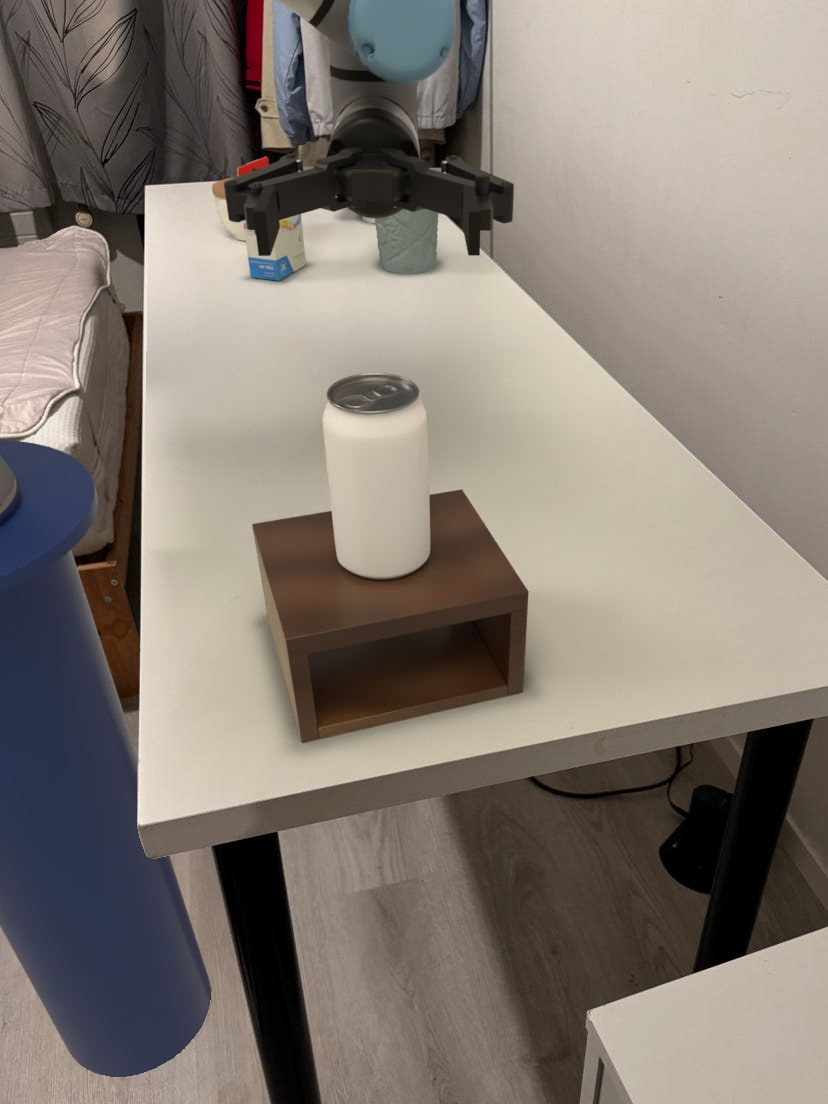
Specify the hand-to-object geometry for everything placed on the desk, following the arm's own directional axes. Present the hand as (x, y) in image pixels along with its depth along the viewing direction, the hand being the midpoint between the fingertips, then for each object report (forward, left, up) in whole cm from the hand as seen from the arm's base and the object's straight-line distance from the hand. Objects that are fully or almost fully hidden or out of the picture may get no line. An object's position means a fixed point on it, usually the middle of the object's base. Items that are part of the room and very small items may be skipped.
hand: (368, 234), depth 60 cm
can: (+9, -2, -19) cm, 21 cm away
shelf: (+9, -2, -27) cm, 29 cm away
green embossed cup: (-79, +24, -28) cm, 87 cm away
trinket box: (-101, +4, -28) cm, 105 cm away
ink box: (-82, +5, -28) cm, 86 cm away
